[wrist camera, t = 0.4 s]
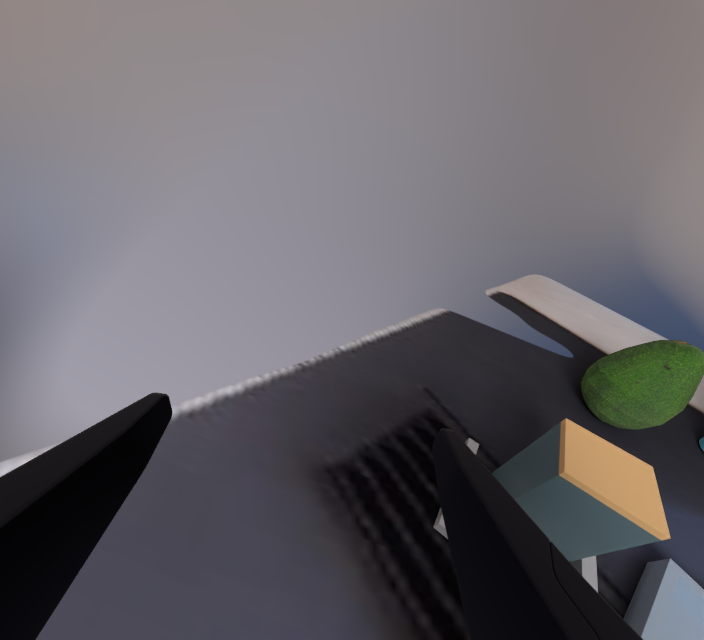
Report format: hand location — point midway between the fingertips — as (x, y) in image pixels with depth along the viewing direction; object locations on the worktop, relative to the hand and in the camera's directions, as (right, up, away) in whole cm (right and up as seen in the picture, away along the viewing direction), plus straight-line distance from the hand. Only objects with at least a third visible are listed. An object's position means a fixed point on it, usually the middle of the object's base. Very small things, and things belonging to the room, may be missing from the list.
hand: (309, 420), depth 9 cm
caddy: (+15, -14, +14) cm, 25 cm away
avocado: (+33, -8, +25) cm, 42 cm away
